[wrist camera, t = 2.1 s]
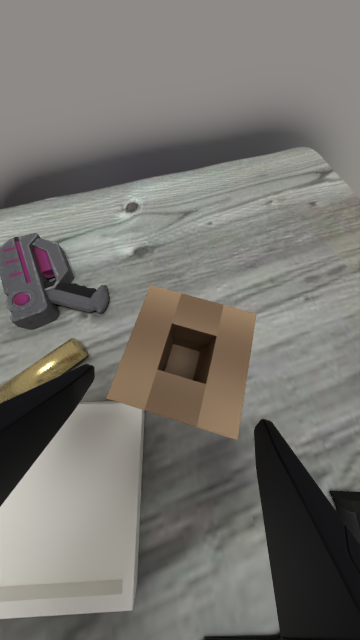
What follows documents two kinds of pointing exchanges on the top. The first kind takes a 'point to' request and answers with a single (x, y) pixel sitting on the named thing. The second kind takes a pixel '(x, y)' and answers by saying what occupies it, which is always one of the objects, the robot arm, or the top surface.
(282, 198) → the top surface
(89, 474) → the tray
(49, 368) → the bullet cartridge
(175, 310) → the brown tall hollow block
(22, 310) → the toy gun
